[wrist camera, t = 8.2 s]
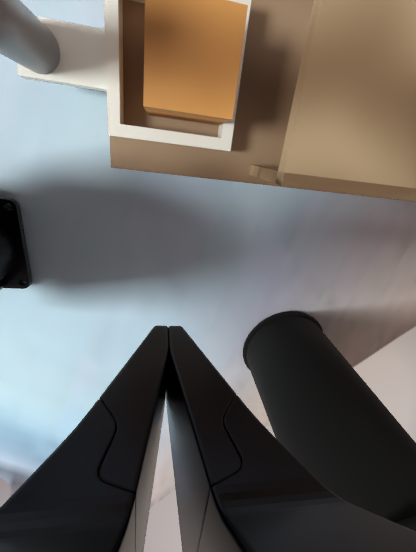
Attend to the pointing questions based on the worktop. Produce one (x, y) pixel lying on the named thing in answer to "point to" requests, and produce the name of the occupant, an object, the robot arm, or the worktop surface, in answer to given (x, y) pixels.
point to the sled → (91, 64)
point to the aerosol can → (332, 417)
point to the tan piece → (299, 101)
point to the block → (192, 58)
